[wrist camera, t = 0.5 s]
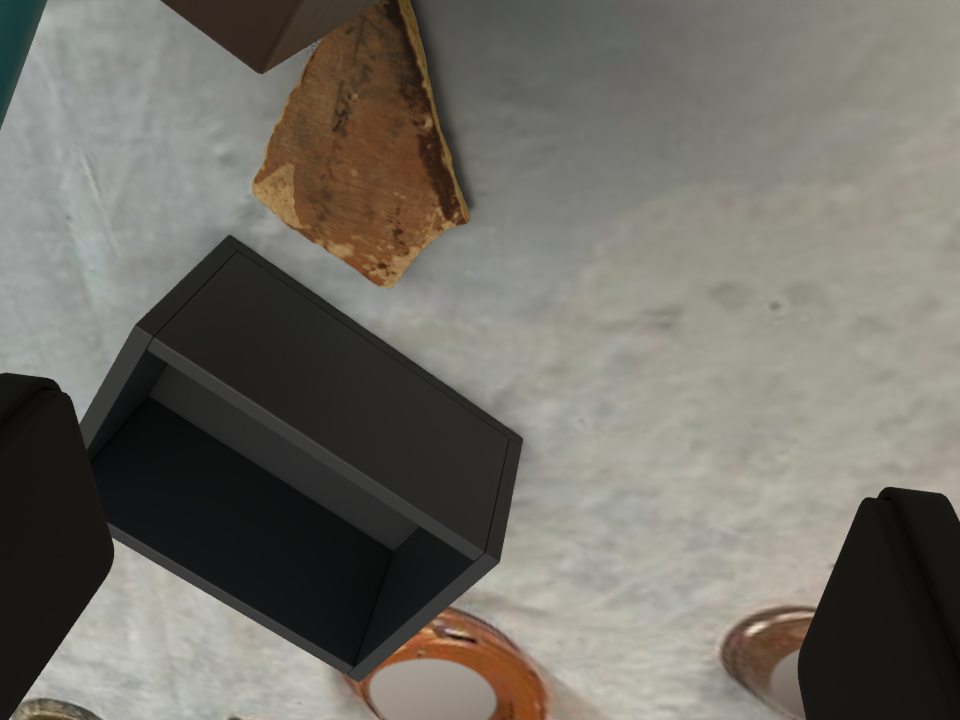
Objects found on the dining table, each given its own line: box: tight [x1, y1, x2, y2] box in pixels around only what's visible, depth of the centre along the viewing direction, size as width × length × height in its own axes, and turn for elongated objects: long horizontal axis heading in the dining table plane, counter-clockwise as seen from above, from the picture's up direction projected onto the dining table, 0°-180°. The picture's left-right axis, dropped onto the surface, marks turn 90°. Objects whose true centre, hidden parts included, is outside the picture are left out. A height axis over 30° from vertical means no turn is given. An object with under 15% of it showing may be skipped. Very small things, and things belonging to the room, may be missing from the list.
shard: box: [252, 0, 470, 289], centre depth 29 cm, size 11×8×2 cm
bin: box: [79, 236, 523, 682], centre depth 35 cm, size 15×10×8 cm
